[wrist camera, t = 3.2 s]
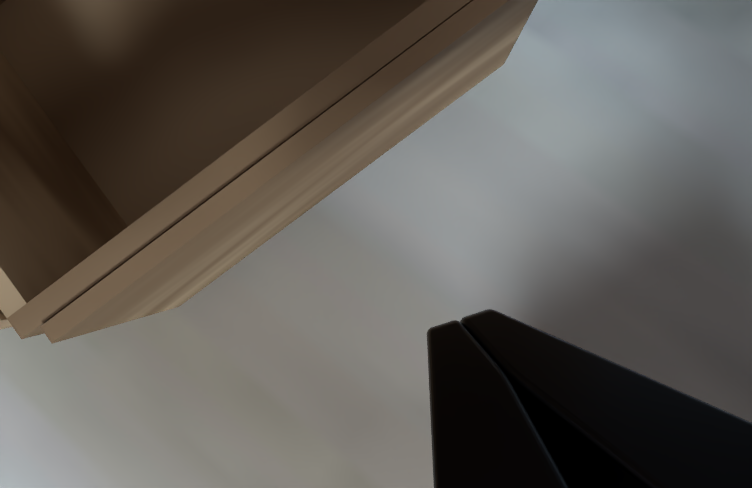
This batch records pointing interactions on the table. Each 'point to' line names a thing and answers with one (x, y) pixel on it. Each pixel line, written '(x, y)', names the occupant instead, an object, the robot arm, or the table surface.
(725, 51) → the table surface
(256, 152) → the carton
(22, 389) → the table surface
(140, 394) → the table surface
